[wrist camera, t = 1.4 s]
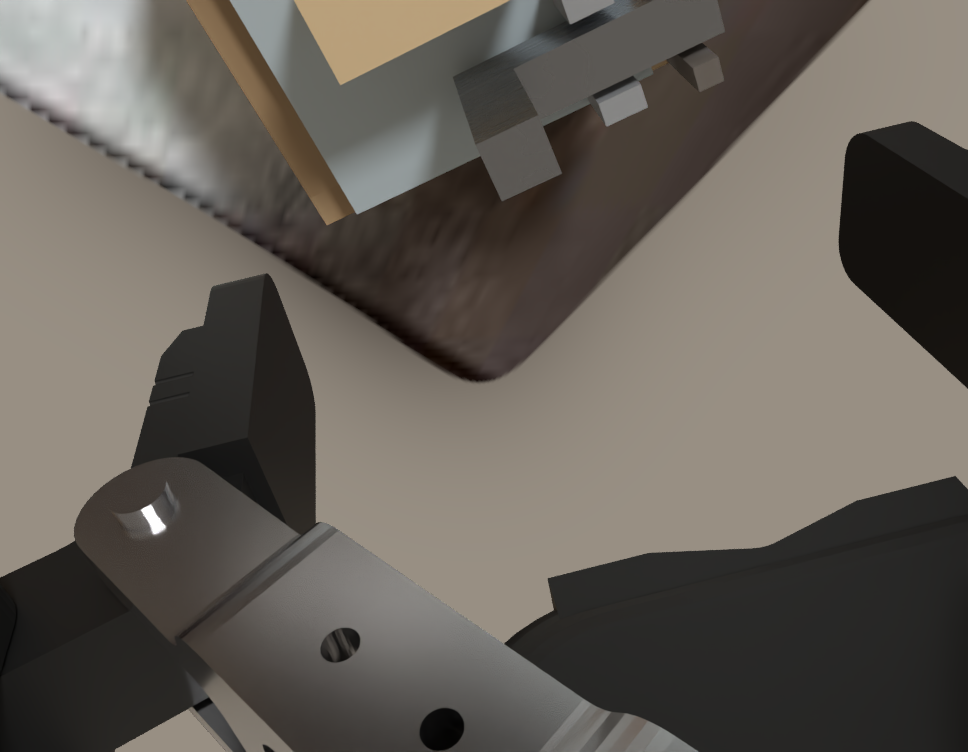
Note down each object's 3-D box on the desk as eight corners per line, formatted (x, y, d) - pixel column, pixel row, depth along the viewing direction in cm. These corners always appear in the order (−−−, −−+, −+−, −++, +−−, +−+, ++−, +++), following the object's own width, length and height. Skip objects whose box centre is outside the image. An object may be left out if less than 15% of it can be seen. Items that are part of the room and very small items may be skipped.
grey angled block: (690, -41, 26) (765, 5, 21) (704, 16, 27) (779, 72, 22) (452, 76, 27) (475, 144, 22) (475, 126, 28) (501, 201, 23)
